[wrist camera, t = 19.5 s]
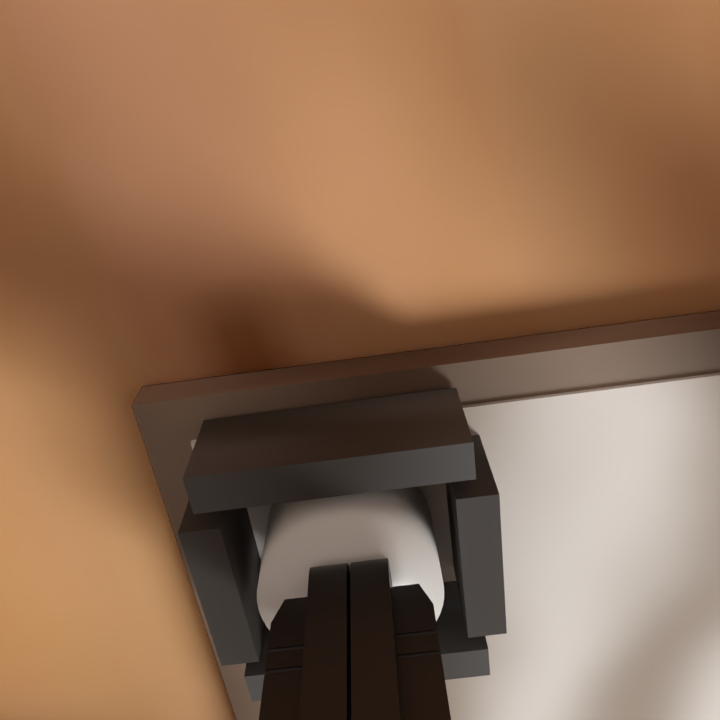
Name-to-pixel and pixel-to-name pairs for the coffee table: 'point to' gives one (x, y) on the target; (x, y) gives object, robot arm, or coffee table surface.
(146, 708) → the coffee table surface
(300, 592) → the button
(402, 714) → the robot arm
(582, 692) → the board
